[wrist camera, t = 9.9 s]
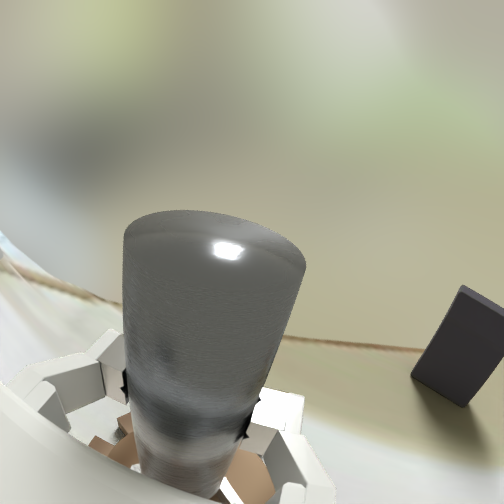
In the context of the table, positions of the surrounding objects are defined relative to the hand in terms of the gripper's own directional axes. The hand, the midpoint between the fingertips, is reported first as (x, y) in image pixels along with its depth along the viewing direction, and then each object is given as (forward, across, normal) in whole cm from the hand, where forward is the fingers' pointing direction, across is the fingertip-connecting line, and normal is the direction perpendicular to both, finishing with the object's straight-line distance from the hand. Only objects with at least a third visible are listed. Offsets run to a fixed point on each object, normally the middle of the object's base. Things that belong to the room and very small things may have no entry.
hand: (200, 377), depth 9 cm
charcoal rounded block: (+24, +30, -18) cm, 42 cm away
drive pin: (-1, 0, -7) cm, 7 cm away
